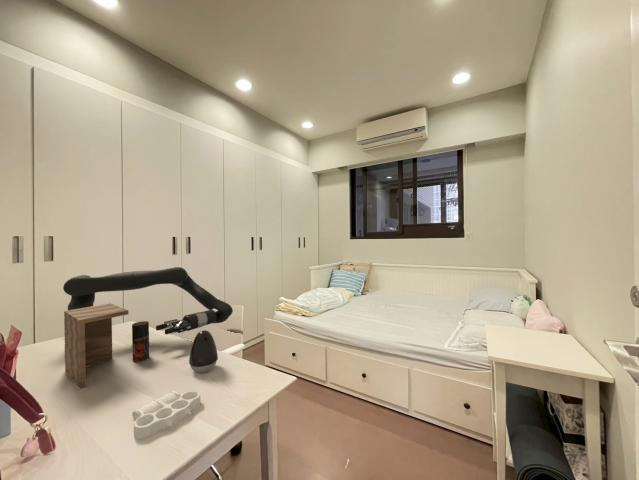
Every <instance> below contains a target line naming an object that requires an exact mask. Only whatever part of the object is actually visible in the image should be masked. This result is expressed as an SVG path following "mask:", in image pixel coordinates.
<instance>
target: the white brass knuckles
mask: <svg viewBox="0 0 639 480" xmlns="http://www.w3.org/2000/svg"><path fill="white" fill-rule="evenodd" d="M200 406H201V393H200V391H197V390H189V391H185V392H178V391H177V390H173V391H170V392H169V393H167V394H166V395H164V396H161V397H159V398H157V399H155V400H153V401H151V402H149V403H147V404H146V405H144V406H141V407H139V408H137V409H135V410H133V411H132V412H131V415H132V418H133V420H134V422H133V437H134V438H135V439H138V440H143V439H148V438H150V437H151V436H153V435H154V434H156V433H158V432H161V431H166V430H169V429H171V428H173V427H174V426H175V425H176V424H177V423H180V422H182V421H184V420H186V419H187V418H188V417H189V416H190V415H192V412H193V411H194V410H195V409H198V408H199V407H200Z"/></svg>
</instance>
